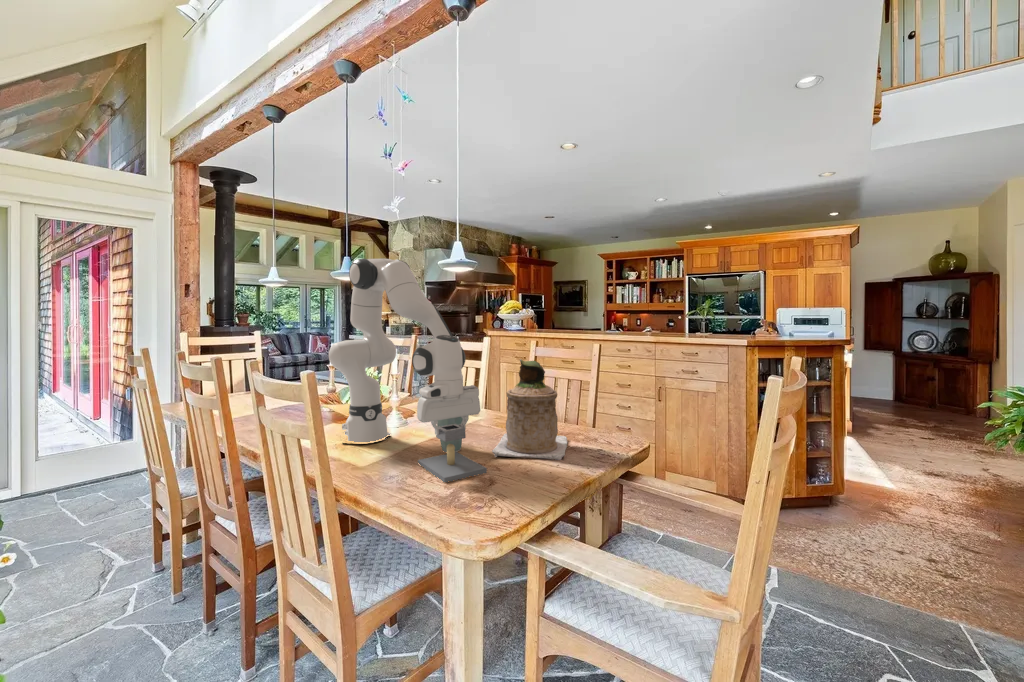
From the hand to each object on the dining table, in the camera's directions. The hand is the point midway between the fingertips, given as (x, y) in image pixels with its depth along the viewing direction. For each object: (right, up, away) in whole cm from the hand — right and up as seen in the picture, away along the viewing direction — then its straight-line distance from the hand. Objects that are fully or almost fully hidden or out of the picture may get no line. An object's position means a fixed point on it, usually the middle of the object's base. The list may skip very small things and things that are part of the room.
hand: (450, 432), depth 145 cm
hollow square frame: (0, -2, 0) cm, 2 cm away
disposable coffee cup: (-3, -11, +19) cm, 22 cm away
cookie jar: (+26, -10, +20) cm, 35 cm away
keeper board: (0, -12, +1) cm, 12 cm away
